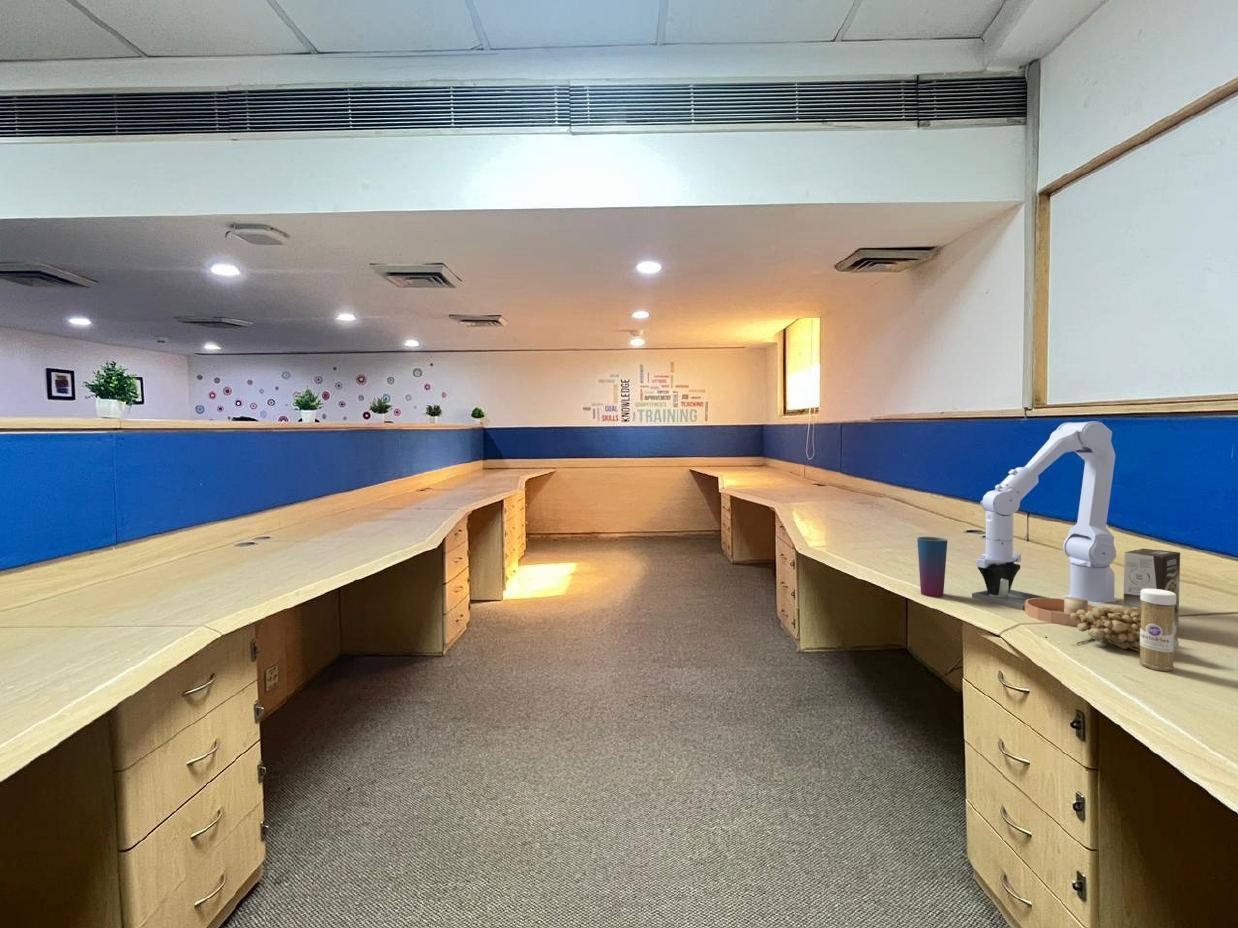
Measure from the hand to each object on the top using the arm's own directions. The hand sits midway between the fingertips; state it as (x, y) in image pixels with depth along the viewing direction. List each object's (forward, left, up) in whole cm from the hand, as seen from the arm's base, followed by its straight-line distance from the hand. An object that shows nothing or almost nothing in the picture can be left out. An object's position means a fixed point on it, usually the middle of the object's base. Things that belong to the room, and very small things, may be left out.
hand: (998, 593), depth 143 cm
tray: (0, +3, -2) cm, 3 cm away
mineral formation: (+11, +30, -2) cm, 32 cm away
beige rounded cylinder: (+4, +18, -1) cm, 19 cm away
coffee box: (-6, +27, -2) cm, 28 cm away
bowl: (+4, +16, -2) cm, 16 cm away
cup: (+12, -10, -2) cm, 15 cm away
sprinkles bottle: (+19, +38, -2) cm, 43 cm away
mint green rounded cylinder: (0, 0, -1) cm, 1 cm away
